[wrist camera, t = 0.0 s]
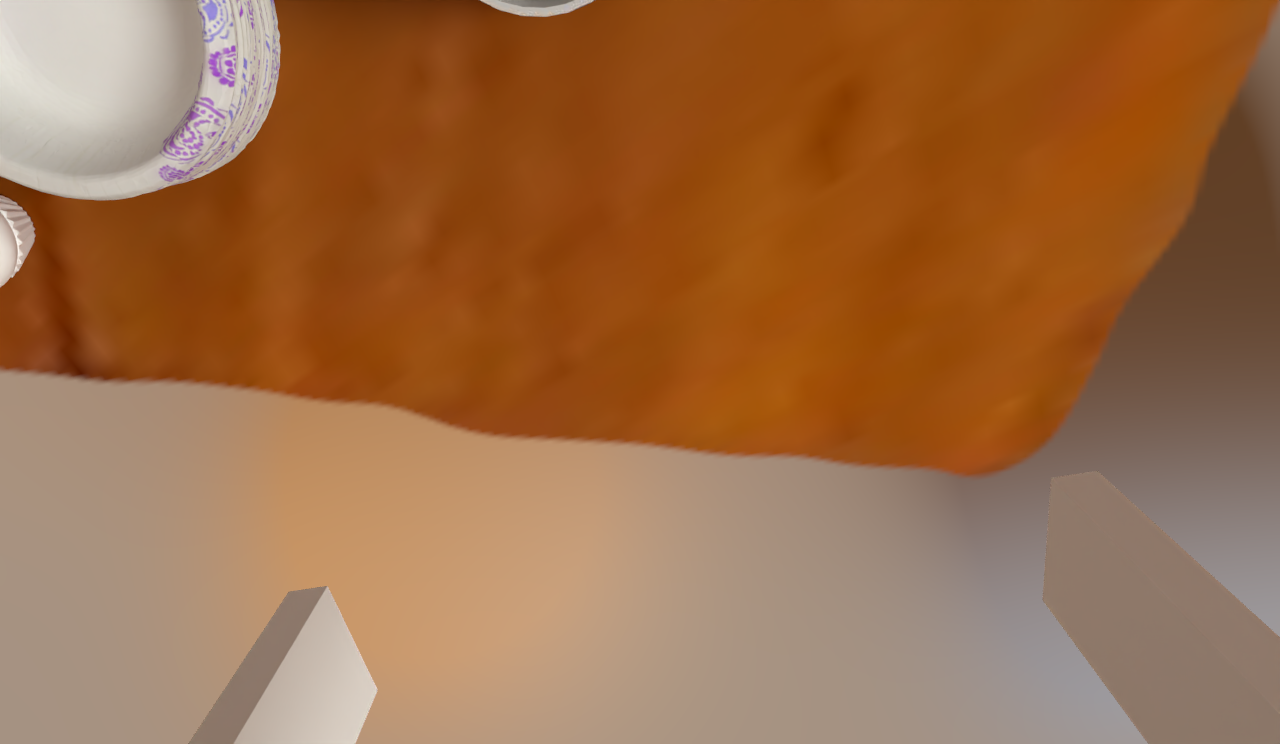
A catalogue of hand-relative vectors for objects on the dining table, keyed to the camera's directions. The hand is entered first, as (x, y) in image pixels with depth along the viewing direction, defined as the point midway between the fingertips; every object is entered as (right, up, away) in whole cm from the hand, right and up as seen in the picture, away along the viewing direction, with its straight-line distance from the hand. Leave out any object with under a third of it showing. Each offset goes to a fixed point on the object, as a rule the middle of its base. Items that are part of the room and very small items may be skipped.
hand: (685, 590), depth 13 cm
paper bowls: (-25, +22, +21) cm, 39 cm away
